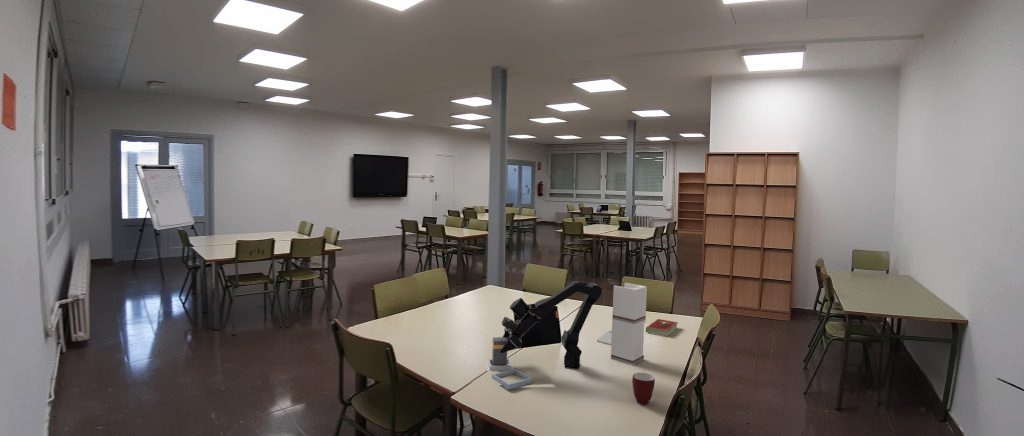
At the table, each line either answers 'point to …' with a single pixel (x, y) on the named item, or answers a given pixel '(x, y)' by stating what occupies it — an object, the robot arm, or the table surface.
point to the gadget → (606, 338)
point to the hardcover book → (661, 327)
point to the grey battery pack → (497, 356)
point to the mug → (643, 387)
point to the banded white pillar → (628, 323)
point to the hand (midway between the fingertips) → (499, 348)
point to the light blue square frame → (515, 384)
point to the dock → (495, 368)
